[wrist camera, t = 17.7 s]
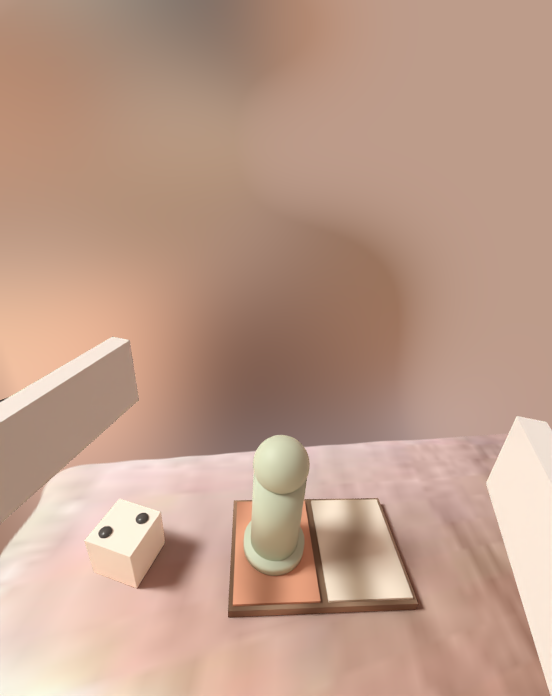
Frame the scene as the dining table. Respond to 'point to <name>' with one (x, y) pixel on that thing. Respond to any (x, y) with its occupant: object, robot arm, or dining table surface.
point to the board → (325, 564)
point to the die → (126, 542)
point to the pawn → (277, 506)
